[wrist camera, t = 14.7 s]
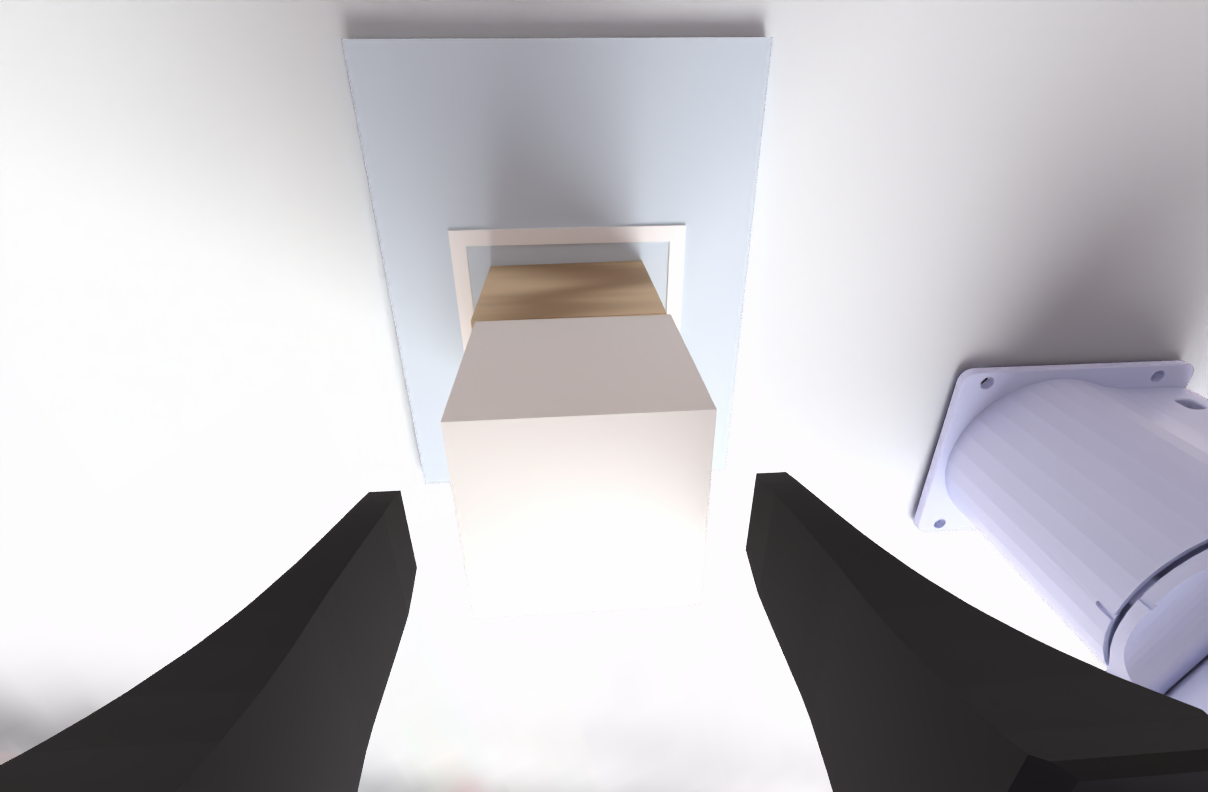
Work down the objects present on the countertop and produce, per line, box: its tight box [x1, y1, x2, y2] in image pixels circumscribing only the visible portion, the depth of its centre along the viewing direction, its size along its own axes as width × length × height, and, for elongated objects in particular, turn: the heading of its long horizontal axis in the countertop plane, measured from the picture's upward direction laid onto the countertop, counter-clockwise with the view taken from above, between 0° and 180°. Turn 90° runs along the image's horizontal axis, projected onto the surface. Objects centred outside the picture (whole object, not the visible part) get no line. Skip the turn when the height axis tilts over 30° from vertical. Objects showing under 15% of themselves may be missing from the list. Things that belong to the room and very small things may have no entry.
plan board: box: [342, 37, 772, 484], centre depth 20 cm, size 12×15×1 cm
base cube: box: [471, 261, 667, 329], centre depth 18 cm, size 5×5×5 cm
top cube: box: [440, 314, 717, 619], centre depth 14 cm, size 5×5×5 cm
